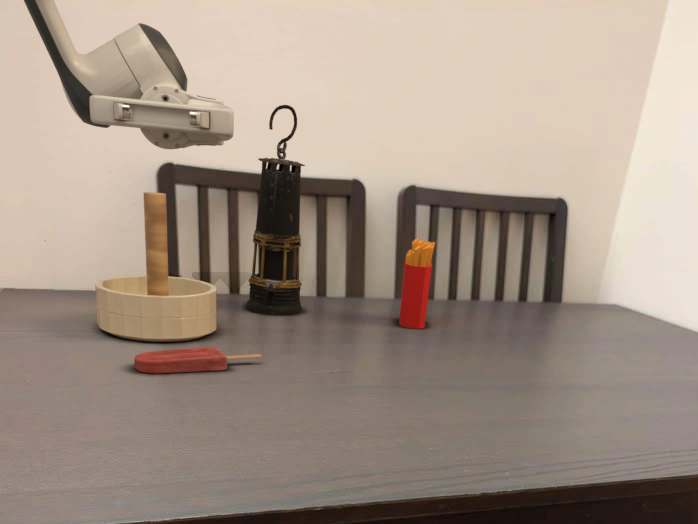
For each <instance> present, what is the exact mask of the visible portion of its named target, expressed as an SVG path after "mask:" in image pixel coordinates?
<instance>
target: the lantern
mask: <svg viewBox="0 0 698 524" xmlns="http://www.w3.org/2000/svg"><path fill="white" fill-rule="evenodd" d="M284 109H285V110H289V111H290V113H291V114H292V116H293V127H292V129H291V132H290V133H289V134H288V135H287V137H283V138H282V139H281V140H280V141H278V143H277V144H276V156H277V158H276V157H275V158H274V157H270V158H269V157H263V158H262V157H260V158H259V157H258V158H257V160H258V161H260V162H261V174H260V183H259V185H260V187H259V196H258V206H257V215H256V222H255V230H254V231H253V232H254V233H253V235H252V243H253V258H252V269H251V275H250V277H249V279H248V280H247V282H248V283H249V285H248V286H249V293H248V294H249V298H248V300H247V301H246V306H245V307H246V309H247V310H249V311H250V312H254V313H258V314H261V315H262V314H263V315H273V316H290V315H296V314H297V315H298V314H300V313H301V312H302V311H303V310H302V309H303V308H302V303H301V287H302V285H303V284H302V282H301V280H300V248H301V247H302V240H301V234H300V227H301V226H300V224H301V223H300V221H301V220H300V219H301V178H302V177H301V176H302V175H301V174H302V167H306V165H305V164H303V163H301V162H299V161H294V160H290V159H286V158H287V152H286V150H287V147H288V144H287V142H289V141H290V140H291V139H292V138H293V137H294V135H295V133H296V131H297V127H298V116H297V112H296V109H295V108H293V107H292V106H291V105H288V104H280V105H279V106H277V107H275V108H274V110H273V111H272V112H271V114H270V117H269V122H268V124H269V126H268V127H269V131H270V130H271V131H272V130H273V123H274V118H275V115H276V114H277V113H278V111H280V110H284ZM282 144H283V145H282ZM281 146H282V147H281ZM258 248H259V249H258ZM295 250H296V270H295V271H296V273H295V276H294V266H295V265H294V263H295ZM257 255H258V273H256V265H257Z"/></svg>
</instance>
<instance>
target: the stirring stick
mask: <svg viewBox="0 0 698 524" xmlns="http://www.w3.org/2000/svg"><path fill="white" fill-rule="evenodd" d="M142 193H143V194H142V195H143V217H144V219H143V220H144V242H145V243H144V245H145V268H146V270H145V271H146V276H147V295H155V296H169V282H168V276H169V252H168V251H169V249H168V246H169V245H168V216H167V215H168V214H167V213H168V211H167V208H168V207H167V193H163V192H153V191H150V192H149V191H144V192H142Z"/></svg>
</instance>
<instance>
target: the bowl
mask: <svg viewBox="0 0 698 524" xmlns="http://www.w3.org/2000/svg"><path fill="white" fill-rule="evenodd" d="M168 282H169V296H155V295H147V274H146V275H143V274H141V275H139V274H137V275H121V276H120V275H119V276H112V277H107V278H102V279H100V280H97V281H96V282H95V283H94V289H95V291H94V292H95V305H96V320H97V326H98V327H99V330H102V331H105V332H106V333H109V334H110V335H113V336H115V337H118V338H122V339H126V340H132V341H140V342H153V343H156V342H157V343H170V342H171V343H174V342H184V341H192V340H197V339H200V338H203V337H206V336H207V335H209V334H211V333H214V332H215V331H216V330H217V326H218V325H217V322H218V320H217V319H218V317H217V315H218V314H217V311H218V308H217V307H218V306H217V303H218V301H217V300H218V299H217V297H218V289H217V286H215V285H214V284H212V283H210V282H206V281H203V280H200V279H199V280H198V279H193V278H188V277H180V276H169V275H168Z"/></svg>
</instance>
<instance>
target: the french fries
mask: <svg viewBox="0 0 698 524" xmlns="http://www.w3.org/2000/svg"><path fill="white" fill-rule="evenodd" d="M435 245H436V242H435V241H432V242H431V241H428V242H427V240H423V239H421V240H420V238H418V237H417V238H415V239H414V240H412V241H411V249H409V250H408V251H407V252H406V254H405V255H406V256H405V260H404V267H403V268H404V269H403V277H402V287H401V290H402V291H401V299H400V308H399V310H400V311H399V321H398V325H399V326H400V327H403V328H407V329H415V330H416V329H418V330H420V329H425V327H426V319H427V310H428V303H429V294H430V287H431V280H432V279H431V278H432V269H433V263H432V259H433V254H434V249H435V247H436V246H435Z"/></svg>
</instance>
